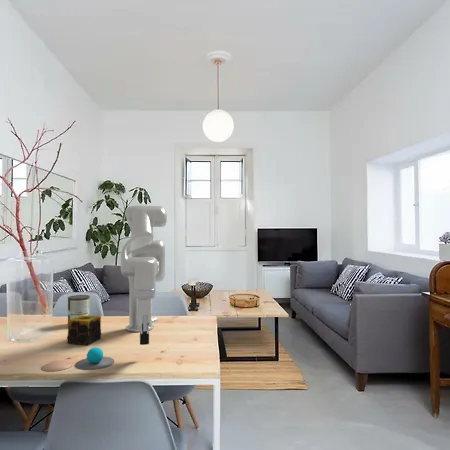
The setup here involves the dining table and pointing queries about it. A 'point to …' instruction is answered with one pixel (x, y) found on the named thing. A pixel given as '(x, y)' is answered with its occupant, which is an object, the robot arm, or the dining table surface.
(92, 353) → the ball
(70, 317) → the coffee can
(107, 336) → the dining table surface
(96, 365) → the disc
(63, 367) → the disc
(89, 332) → the candle
